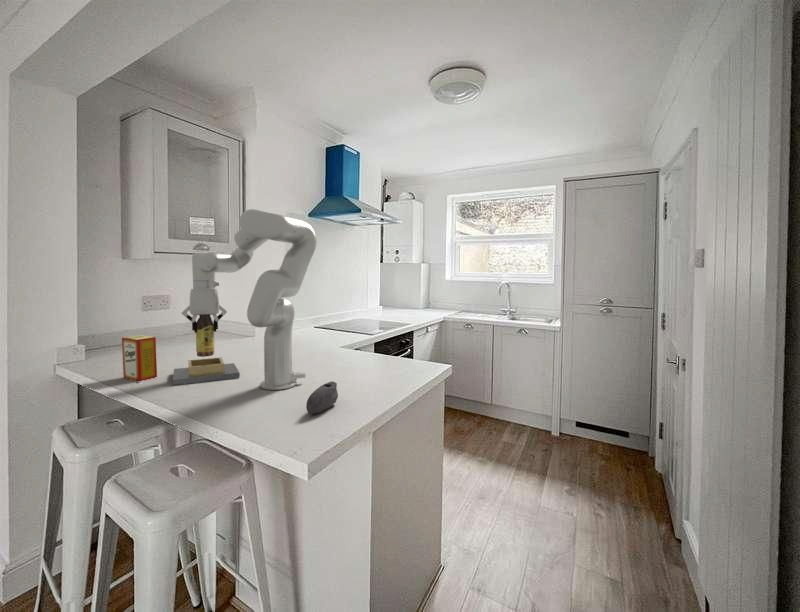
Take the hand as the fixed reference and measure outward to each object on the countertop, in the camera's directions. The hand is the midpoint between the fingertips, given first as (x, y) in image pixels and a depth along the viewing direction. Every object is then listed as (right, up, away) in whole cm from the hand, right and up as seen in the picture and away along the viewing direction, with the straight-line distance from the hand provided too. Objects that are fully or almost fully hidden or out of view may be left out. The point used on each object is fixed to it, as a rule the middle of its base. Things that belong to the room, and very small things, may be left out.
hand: (205, 331), depth 146 cm
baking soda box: (-23, -18, -3) cm, 29 cm away
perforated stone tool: (+52, -21, -34) cm, 66 cm away
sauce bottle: (0, -10, +1) cm, 10 cm away
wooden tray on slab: (0, -18, +1) cm, 18 cm away
